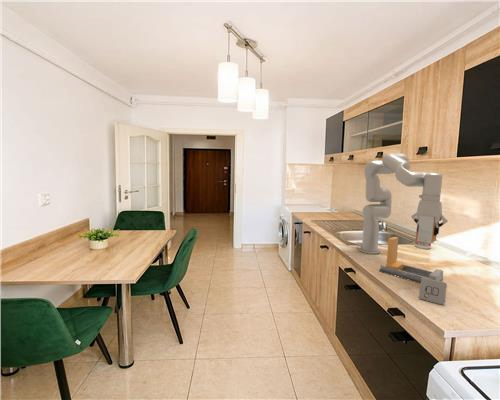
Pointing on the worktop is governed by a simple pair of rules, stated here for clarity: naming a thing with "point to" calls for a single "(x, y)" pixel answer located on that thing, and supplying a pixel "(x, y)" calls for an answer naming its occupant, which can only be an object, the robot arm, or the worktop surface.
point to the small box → (426, 229)
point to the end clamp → (393, 254)
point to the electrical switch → (433, 290)
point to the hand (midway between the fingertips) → (427, 233)
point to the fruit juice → (421, 243)
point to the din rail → (414, 273)
